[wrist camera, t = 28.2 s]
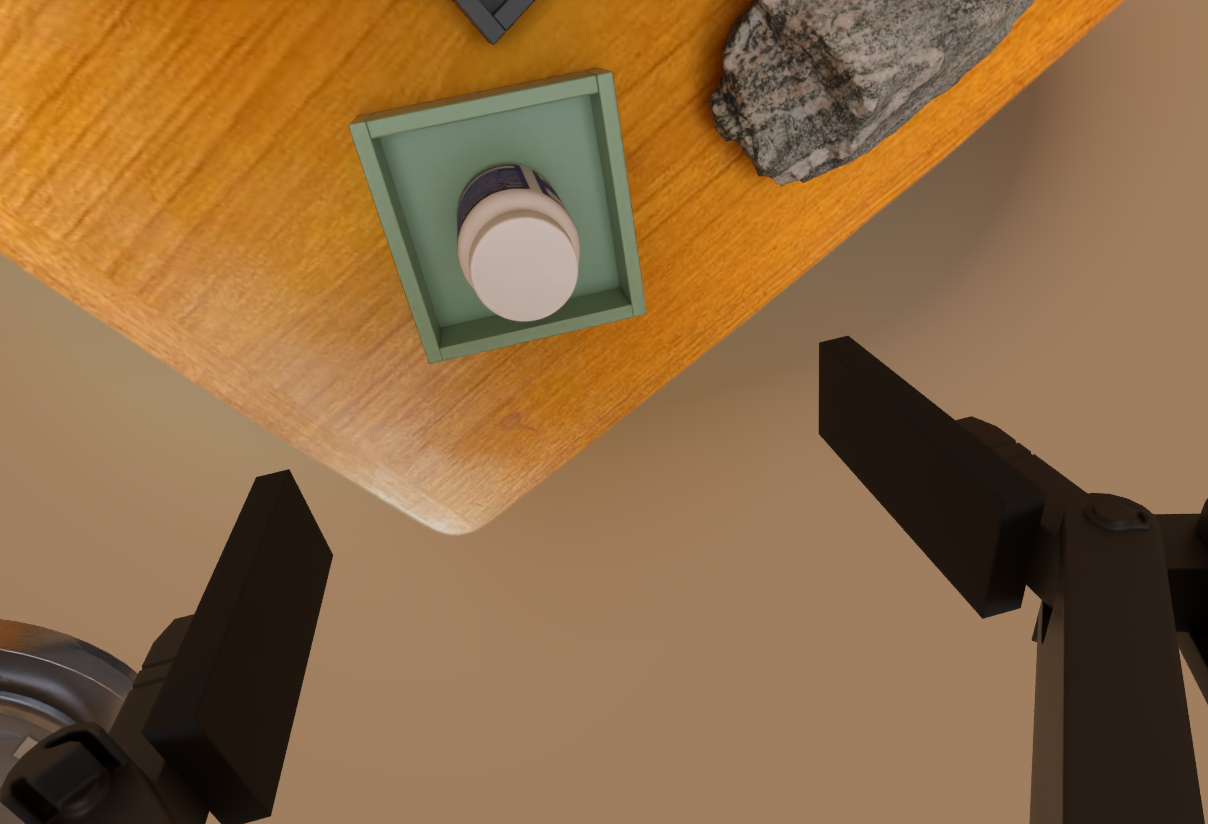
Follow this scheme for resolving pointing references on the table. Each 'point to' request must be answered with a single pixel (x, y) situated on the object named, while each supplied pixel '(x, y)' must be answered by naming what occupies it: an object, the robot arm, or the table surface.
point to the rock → (843, 74)
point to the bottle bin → (481, 139)
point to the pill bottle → (516, 242)
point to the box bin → (493, 15)
